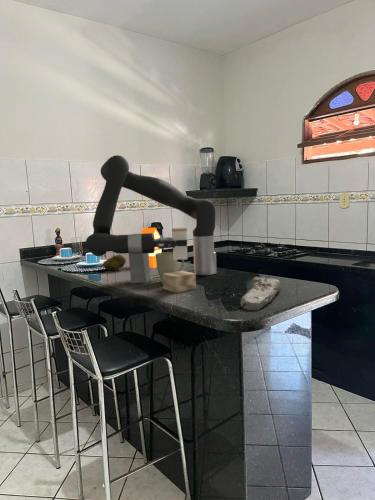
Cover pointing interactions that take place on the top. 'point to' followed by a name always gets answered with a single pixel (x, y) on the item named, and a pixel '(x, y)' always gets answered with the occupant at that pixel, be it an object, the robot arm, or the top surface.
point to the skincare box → (139, 268)
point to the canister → (179, 251)
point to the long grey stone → (260, 293)
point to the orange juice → (152, 255)
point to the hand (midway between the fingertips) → (186, 242)
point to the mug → (166, 263)
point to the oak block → (179, 281)
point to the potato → (114, 262)
